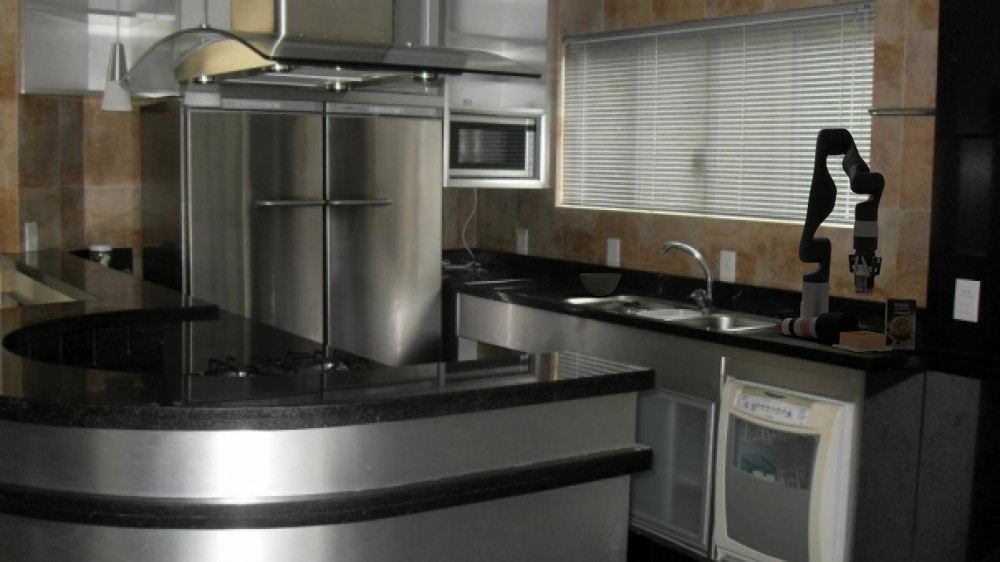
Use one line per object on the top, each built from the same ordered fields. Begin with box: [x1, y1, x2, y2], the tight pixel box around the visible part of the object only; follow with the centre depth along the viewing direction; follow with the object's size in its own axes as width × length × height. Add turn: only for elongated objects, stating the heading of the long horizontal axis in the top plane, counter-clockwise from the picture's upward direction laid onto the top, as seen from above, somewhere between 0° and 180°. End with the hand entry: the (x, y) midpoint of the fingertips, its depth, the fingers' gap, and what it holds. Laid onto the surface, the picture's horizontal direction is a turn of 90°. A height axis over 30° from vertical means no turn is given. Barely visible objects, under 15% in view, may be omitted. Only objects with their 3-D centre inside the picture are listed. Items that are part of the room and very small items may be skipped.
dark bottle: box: [774, 312, 860, 344], centre depth 410 cm, size 10×34×10 cm, turn 29°
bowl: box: [579, 272, 622, 296], centre depth 541 cm, size 19×19×10 cm
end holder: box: [832, 330, 893, 353], centre depth 387 cm, size 12×14×5 cm
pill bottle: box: [854, 265, 874, 297], centre depth 386 cm, size 5×5×10 cm
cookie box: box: [883, 297, 918, 351], centre depth 389 cm, size 9×6×16 cm
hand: (863, 287), depth 386 cm, fingers closed on pill bottle, 5 cm apart
